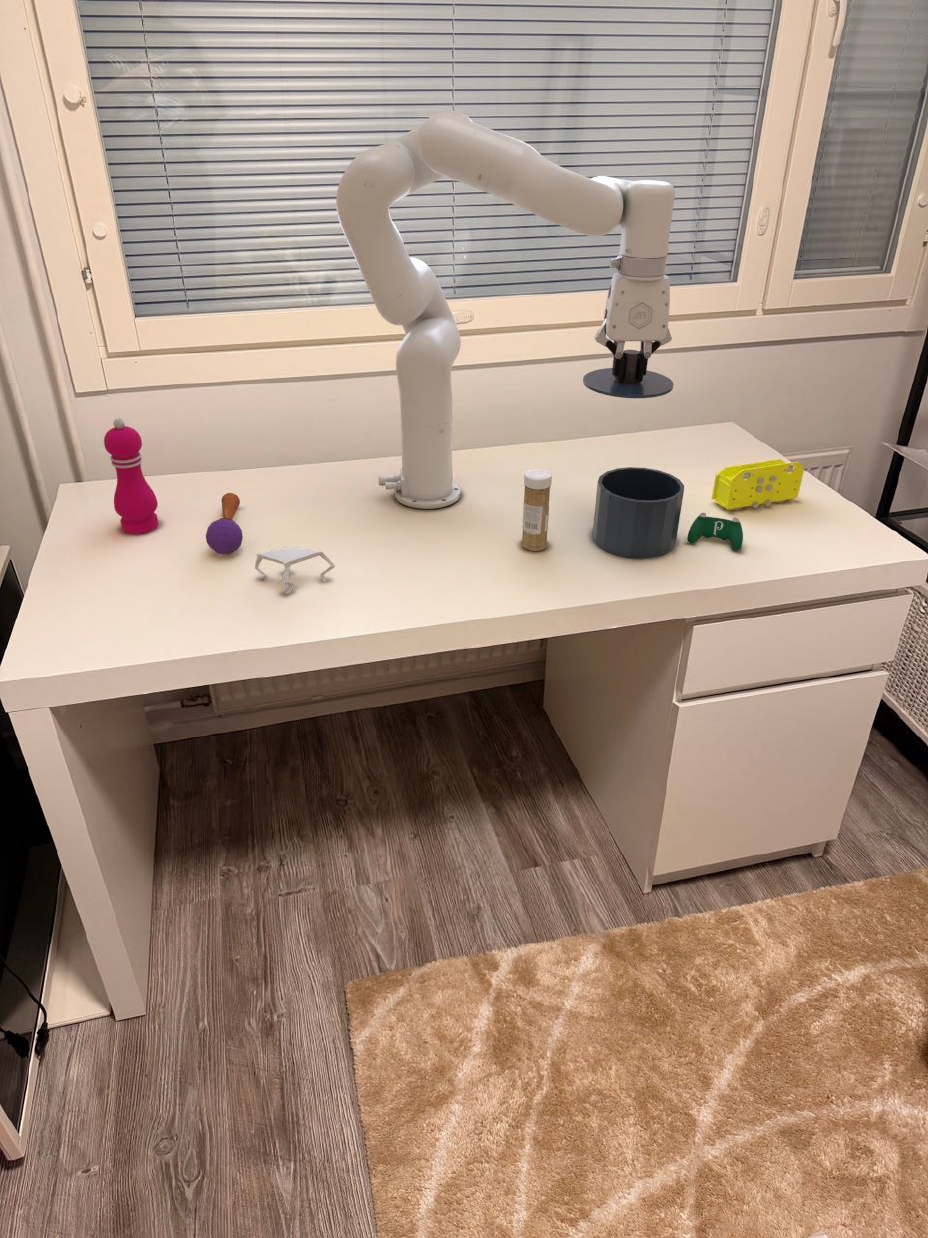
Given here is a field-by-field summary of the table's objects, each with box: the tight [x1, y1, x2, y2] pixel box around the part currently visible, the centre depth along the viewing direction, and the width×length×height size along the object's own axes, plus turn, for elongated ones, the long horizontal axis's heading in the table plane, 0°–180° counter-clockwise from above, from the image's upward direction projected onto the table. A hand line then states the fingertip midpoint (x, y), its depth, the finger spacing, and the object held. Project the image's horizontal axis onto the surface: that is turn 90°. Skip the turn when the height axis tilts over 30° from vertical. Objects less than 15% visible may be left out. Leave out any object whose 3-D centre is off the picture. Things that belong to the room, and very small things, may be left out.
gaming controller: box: [686, 512, 744, 552], centre depth 154 cm, size 9×4×6 cm
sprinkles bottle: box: [521, 468, 553, 552], centre depth 149 cm, size 5×5×13 cm
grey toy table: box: [254, 546, 336, 595], centre depth 140 cm, size 12×8×5 cm
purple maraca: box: [205, 492, 244, 555], centre depth 154 cm, size 6×6×20 cm
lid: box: [582, 349, 674, 399], centre depth 150 cm, size 15×15×6 cm
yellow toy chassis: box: [711, 458, 805, 511], centre depth 166 cm, size 16×6×8 cm, turn 110°
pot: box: [592, 466, 685, 559], centre depth 152 cm, size 14×15×10 cm
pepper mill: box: [103, 417, 160, 535], centre depth 152 cm, size 7×7×20 cm
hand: (628, 378), depth 151 cm, fingers closed on lid, 2 cm apart
